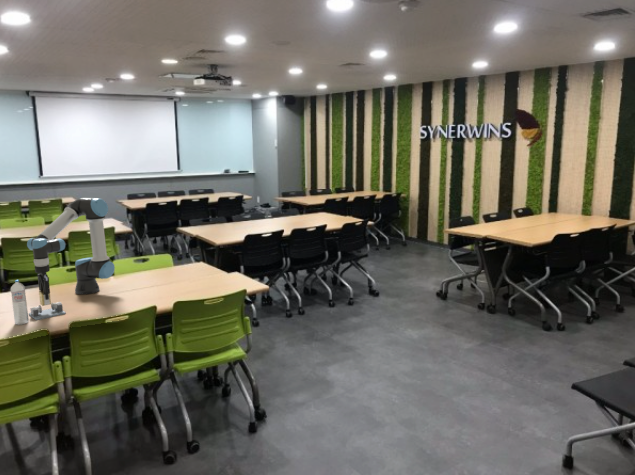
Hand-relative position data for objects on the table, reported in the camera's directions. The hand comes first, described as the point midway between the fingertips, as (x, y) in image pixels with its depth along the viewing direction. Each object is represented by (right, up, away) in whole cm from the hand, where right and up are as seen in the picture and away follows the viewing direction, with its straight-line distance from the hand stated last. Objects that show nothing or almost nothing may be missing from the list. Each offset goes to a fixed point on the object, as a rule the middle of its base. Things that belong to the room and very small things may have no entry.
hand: (45, 303), depth 297 cm
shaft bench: (0, -6, +1) cm, 7 cm away
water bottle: (-6, -9, -13) cm, 17 cm away
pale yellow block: (0, 0, 0) cm, 0 cm away
